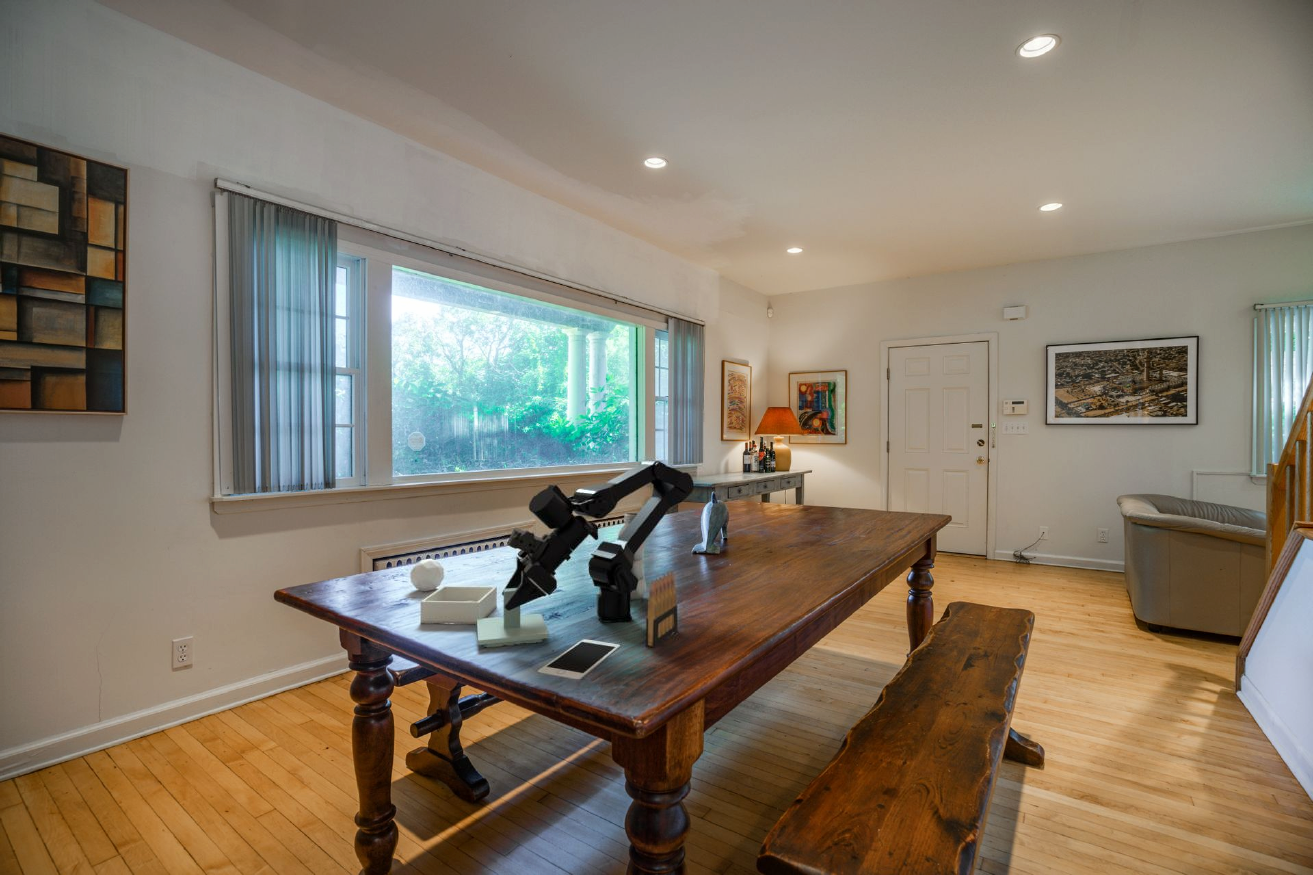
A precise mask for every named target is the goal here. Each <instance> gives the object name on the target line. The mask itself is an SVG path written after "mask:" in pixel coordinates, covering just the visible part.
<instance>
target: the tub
mask: <svg viewBox="0 0 1313 875" xmlns="http://www.w3.org/2000/svg"><path fill="white" fill-rule="evenodd" d="M497 590H498V588H497V586H458V585H457V586H456V585H455V586H453V585H451V586H450V585H443V586H441V587H440V588H438V589H437V590H435V591H434V592H433V593H431V594H429V595H428V596H427V597H425V598H423V599H422V600H420V624H421V623H425V624H424V625H427V624H426V623H430V624H429V625H434V624H433V623H457V624H456V625H468V624H475V625H474V626H477V619H482V618H488V616H489V615H490V614H492V612H494V610H495V609H496V608H497V607H498V606H497V605H498V604H497V603H498V602H497V601H498V600H497V597H498V596H497V595H498V593H497ZM431 623H432V624H431Z"/></svg>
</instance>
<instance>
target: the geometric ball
mask: <svg viewBox="0 0 1313 875" xmlns="http://www.w3.org/2000/svg"><path fill="white" fill-rule="evenodd" d="M444 570H445V569H444V567H443V566H442V564H440V562H439V561H438V560H435V559H433V558H428V559H427V558H425V559H421V560H420V561H418V562H417V563H416V564H414V566H413V568H412V569H411V570H410V572H409V574H410V582H411V584H412V586H414V588H416V589H417V590H418V591H421V592H423V591H425V592H431V591H434V590H435V589H437V588H438V587H439V586H440V585H441V584H442V582H443V581H444V578H445V572H444Z"/></svg>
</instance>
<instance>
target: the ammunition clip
mask: <svg viewBox="0 0 1313 875" xmlns="http://www.w3.org/2000/svg"><path fill="white" fill-rule="evenodd" d="M666 573H667V574H663V575H662V576H659V577H658V578H656V579H655V581H654V580H651V582H650V584H649V589H648V590H649V596H648V603H647V617H646V619H645V647H650V648H653V647H655V648H657V647H658V646H659V645H660V644H662V643H663V642H664V641H666V640H667V639H668V638H669V637H668V636H670V635H671V634H672V633H673V632H675V631H676V630H678V604H677V592H676V581H675V580H676V578H675V573H674V571H673V570H671V571H670V572H666ZM676 632H677V631H676ZM676 632H675V633H676ZM672 635H673V634H672ZM672 635H671V636H672ZM671 636H670V637H671ZM667 637H668V638H667ZM666 638H667V639H666ZM665 639H666V640H665ZM662 641H663V642H662ZM661 642H662V643H661ZM659 643H660V644H659ZM657 645H658V646H657Z"/></svg>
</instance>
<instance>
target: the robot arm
mask: <svg viewBox="0 0 1313 875" xmlns="http://www.w3.org/2000/svg"><path fill="white" fill-rule="evenodd" d="M648 484H651V485H652V494H651V497H650V498H649V499H648V500H647V502H646V503H645V504H644V505H643V506H642V508H641V509H640V510H639V511H638V514H637V515H636V517H635V518H634V519H633V520H632V522H631V523H630V524H629V525H628V526H627V528H626V529H625V530H624V531H623V533H622V534H621V535H620V536H619V538H618V537H617V539H616V540H615V541H613V542H610V541H604V540H603V541H602V542H600V544H599V545H598V547H597V548H596V550H595V551H594V552H591V554H590V555H591V558H590V559H589V561H588V565H587V566H588V574H589V577H590V578H591V580H592V583H593V586H594V587H597V588H599V593H598V594H596V614H597V617H598V618H599V619H600V622H602V623H609V622H625V621H626V622H629V621H633V616H632V614H631V608H632V606H631V604H632V600H631V592H632V591H634V590H636V589H637V585H638V579H637V578H636V577H635V575H634V574H633V573H632V572H631V569H632V567H633V561H634V554H635V553H636V551H637V550H638V549H639V548H640V546H641V545H642V544H643V542H644V541H645V542H646V540H647V538H649V536H650V535H651V533H652V532H653V530H655V528H656V527H657V525H658V524H660V522H661V521H662V519H663V518H664V517H665V515H666V514H667V513H668V511H669V510H670V509H671V508H673V507H675V506H677V505H679V504H682V503H683V502H684V501H685V500H686V499H687V498H688V497H689V496H690V495H691V494H692V493H693V490H694V485H695V484H694V481H693V478H692V475H691V474H690V473H689V472H684V471H681V470H678V469H675V468H673V467H671V466H669V465H666V464H665V463H663V462H661V461H660V460H651V459H650V460H644V461H642V462H640V464H638V465H636V466H635V467H633V468H631V469H629V470H627V471H625V472H623V473H621V474H620V475H618V476H616V477H614V478H611V479H610V480H609V481H607V482H604V483H598V484H592V485H588V486H585V487H581V488H578V489H577V490H576V491H575V492H574V494H572V495H569V496H566V495H565V493H563V491H562V490H561V488H560V487H559V485H556V484H549V485H548V486H547V488H545V489H543V490H541V491H539V492H538V493H537V494H536V495H534V496H533V497H532V499H531V500H530V501H529V505H528V510H529V511H530V513H532V514H533V515H534V516H535V518H537V519H538V520H539V521H540V522H541V523H542V524H544V525H545V527H546V528H548V529H550V530H552V531H551V532H550V533H549V534H548V533H545V534H543V535H542V536H541V537H539V536H537V535H535V533H534V532H531V531H528V530H527V529H526V530H522V529H520V528H518V527H514V528H513V530H512V532H511V534H510V537H509V539H508V541H507V543H508V546H509V547H510V548H512V549H515V550H516V549H518V550H519V551H518V553H517V556H516V557H515V559H516V560H515V562H516V568H515V570H514V572H513V574H512V575H511V578H510V579H509V581H508V582H507V583H506V586H505V587H504V589H510V588H517V589H516V591H515V592H514V593H513V595H512V596H511V598H510V599H509V600H508V602H507V603H506V605H505V609H507V610H508V611H509V610H512V609H514V608H516V607H519V606H520V607H521V606H523V605H525V604H527V603H531V602H532V601H535V600H537V599H540V598H542V597H543V598H545V597H546V596H547V595H548V596H551V595H552V594H553V593H554V592H555V591H556V590H557V588H558V580H557V579H556V577H555V575H556V574H557V573H556V570H557V569H558V568H559V567H560V566H561V565H562V564H563V563H564V562H565V561H566V562H569V561H570V560H571V558H572V556H571V555H572V553H574V551H575V550H577V549H578V547H579V546H581V544H582V543H583V542H584V541H585V540H586V539H587V537H589V536H590V537H592V539H594V540H595V541H597V540H598V539H599V526H598V525H597V524H596V523H595V522H589V521H588V520H587V519H586V518H591V519H592V518H593V519H597V520H601V519H604V518H605V517H606V516H607V515H609V514H610V513H611V512H612V511H613V510H615V508H616V507H617V505H618V502H620V501H621V500H622V499H624V498H625V497H627V496H630V495H631V494H633V493H634V492H636V491H638V490H640V489H641V488H643V487H645V486H647V485H648ZM573 512H574V513H575V514H576V515H574V513H573ZM504 589H503V590H502V591H501V592H502V593H501V595H502V596H503V597H504Z"/></svg>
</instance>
